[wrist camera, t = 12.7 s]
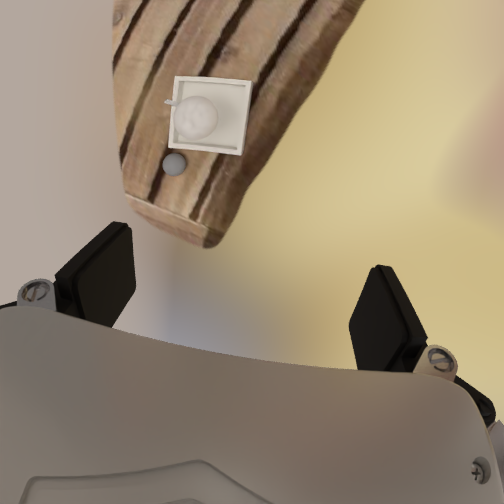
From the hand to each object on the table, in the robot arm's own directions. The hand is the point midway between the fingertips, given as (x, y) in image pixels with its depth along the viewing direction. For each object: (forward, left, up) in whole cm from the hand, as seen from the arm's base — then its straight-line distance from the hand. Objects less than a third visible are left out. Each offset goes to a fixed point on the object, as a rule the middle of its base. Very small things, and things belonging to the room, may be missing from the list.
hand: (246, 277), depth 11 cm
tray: (-4, -8, -28) cm, 30 cm away
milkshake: (-4, -8, -28) cm, 29 cm away
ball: (+3, -12, -28) cm, 31 cm away
